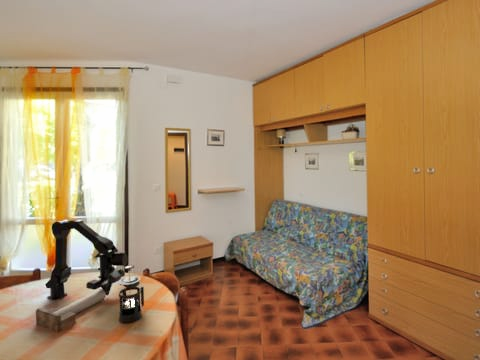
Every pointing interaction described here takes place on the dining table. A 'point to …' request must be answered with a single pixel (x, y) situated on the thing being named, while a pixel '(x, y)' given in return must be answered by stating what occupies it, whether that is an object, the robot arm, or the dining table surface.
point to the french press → (130, 304)
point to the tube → (82, 303)
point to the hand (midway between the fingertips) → (107, 295)
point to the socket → (54, 319)
